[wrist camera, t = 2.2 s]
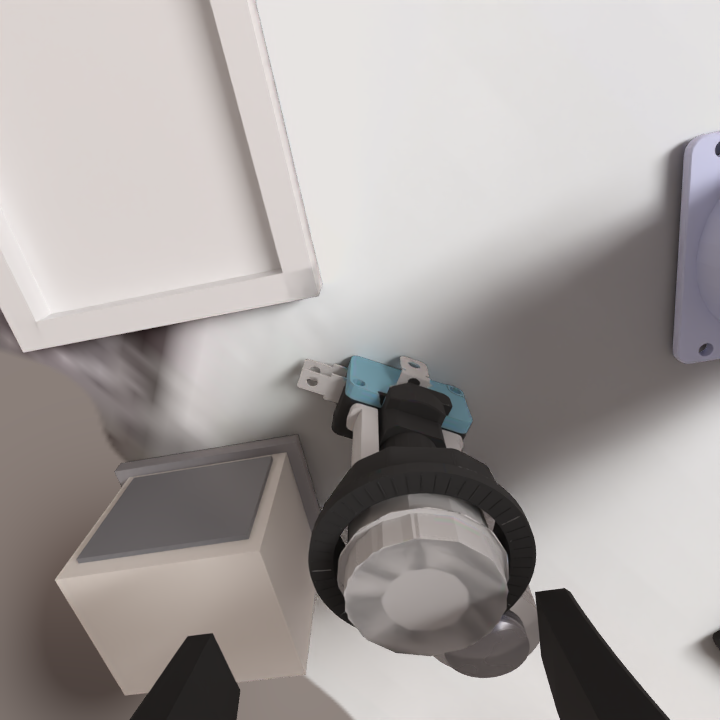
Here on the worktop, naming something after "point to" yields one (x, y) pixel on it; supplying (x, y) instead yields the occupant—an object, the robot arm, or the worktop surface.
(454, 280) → the worktop surface
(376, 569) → the push button
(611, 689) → the robot arm
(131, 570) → the panel
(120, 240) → the tray
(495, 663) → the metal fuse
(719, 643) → the smart home device
